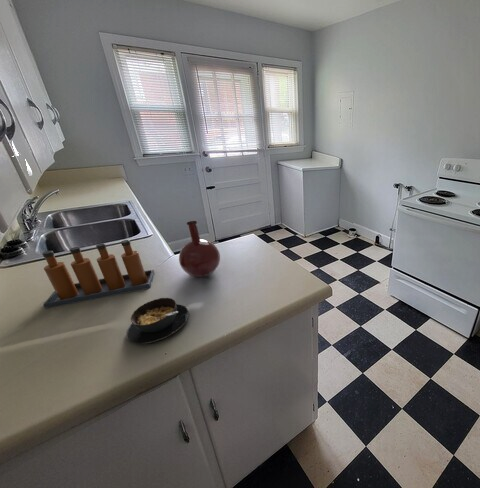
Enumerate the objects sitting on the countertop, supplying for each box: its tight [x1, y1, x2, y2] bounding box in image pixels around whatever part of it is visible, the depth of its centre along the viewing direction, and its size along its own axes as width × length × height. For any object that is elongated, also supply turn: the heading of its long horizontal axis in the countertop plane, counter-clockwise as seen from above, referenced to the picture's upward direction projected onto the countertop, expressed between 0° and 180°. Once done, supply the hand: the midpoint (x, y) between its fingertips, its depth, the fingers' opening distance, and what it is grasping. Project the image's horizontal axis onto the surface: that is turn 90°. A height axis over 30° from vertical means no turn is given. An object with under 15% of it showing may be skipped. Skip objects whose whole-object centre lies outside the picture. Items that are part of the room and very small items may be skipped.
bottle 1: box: [69, 246, 102, 295], centre depth 84 cm, size 5×5×16 cm
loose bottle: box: [41, 250, 78, 300], centre depth 82 cm, size 5×5×16 cm
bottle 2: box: [95, 242, 125, 290], centre depth 87 cm, size 5×5×16 cm
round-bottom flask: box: [178, 220, 221, 278], centre depth 94 cm, size 13×13×20 cm
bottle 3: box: [120, 239, 148, 286], centre depth 89 cm, size 5×5×16 cm
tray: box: [42, 269, 156, 309], centre depth 89 cm, size 27×10×2 cm, turn 113°
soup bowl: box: [126, 297, 190, 345], centre depth 71 cm, size 15×16×7 cm
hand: (18, 195), depth 88 cm, fingers open, 8 cm apart
